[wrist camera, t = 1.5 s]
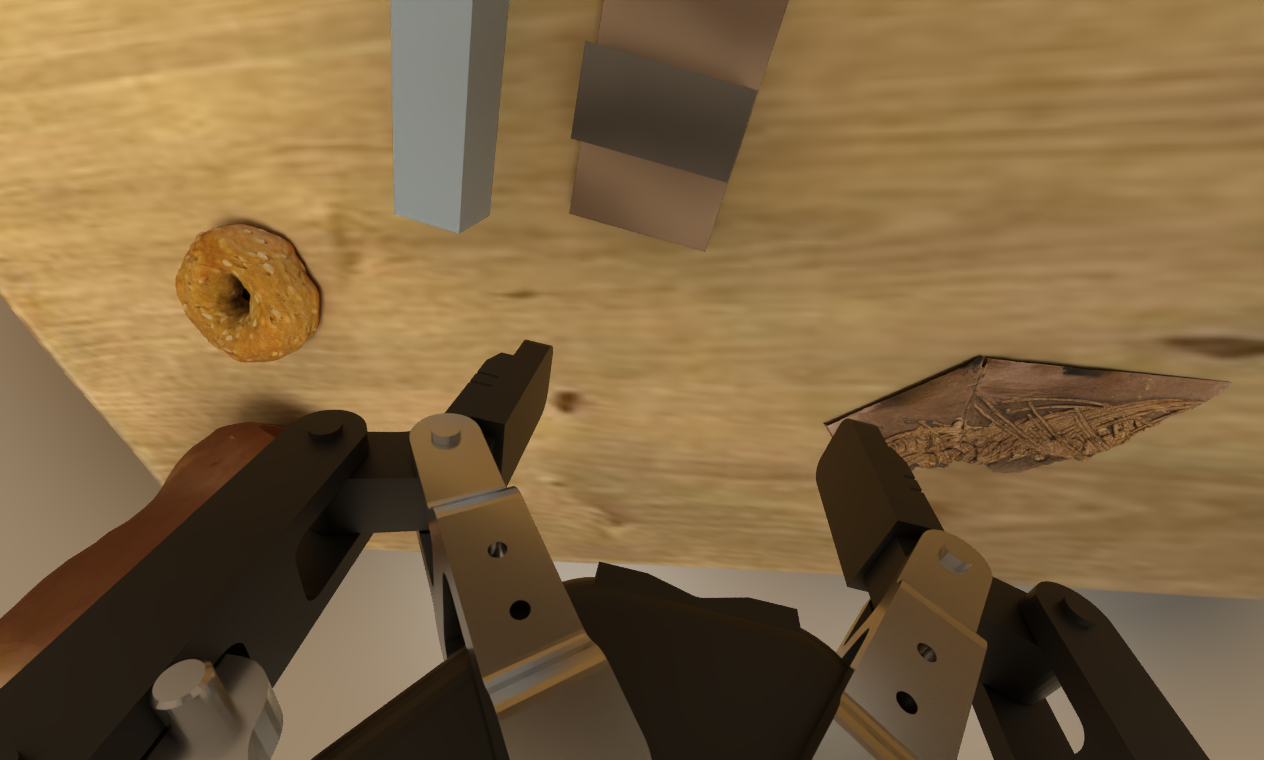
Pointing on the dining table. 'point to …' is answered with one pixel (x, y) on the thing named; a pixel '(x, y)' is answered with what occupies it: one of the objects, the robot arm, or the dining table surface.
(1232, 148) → the dining table surface
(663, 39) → the ridge stand
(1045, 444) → the wooden fragment
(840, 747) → the robot arm
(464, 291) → the dining table surface
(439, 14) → the batten
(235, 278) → the bagel
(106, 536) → the butternut squash
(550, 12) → the dining table surface
